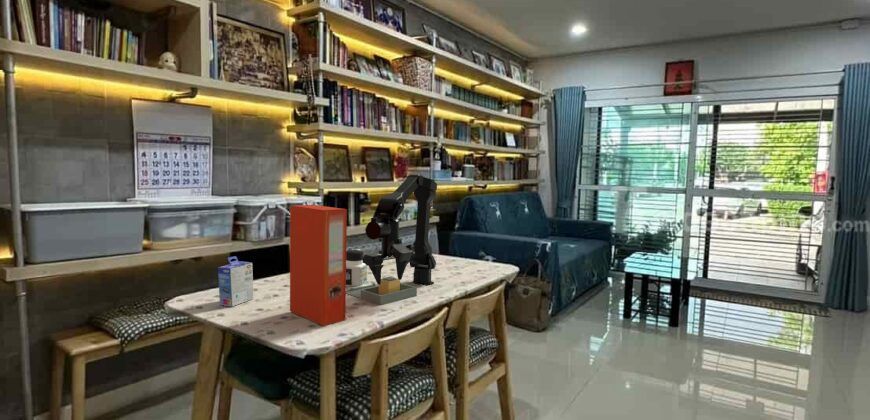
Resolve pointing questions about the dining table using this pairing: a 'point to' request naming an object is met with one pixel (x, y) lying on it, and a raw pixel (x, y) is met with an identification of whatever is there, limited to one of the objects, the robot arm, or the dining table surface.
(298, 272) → the file binder
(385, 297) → the case
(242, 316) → the dining table surface
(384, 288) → the block
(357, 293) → the lid
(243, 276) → the ink cartridge box
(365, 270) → the container
